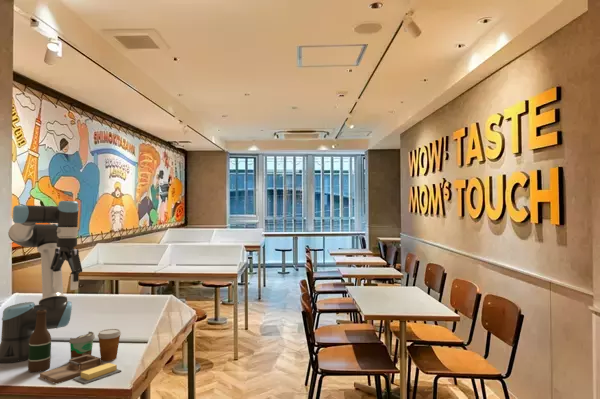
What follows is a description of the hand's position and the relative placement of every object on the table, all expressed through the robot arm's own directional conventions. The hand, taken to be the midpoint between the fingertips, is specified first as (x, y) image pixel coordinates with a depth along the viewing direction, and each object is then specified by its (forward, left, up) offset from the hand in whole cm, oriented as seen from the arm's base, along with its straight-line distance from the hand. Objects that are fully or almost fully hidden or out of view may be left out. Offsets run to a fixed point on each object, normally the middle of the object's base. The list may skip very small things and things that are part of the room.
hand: (65, 288), depth 168 cm
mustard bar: (+20, +4, -32) cm, 38 cm away
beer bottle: (-6, -6, -33) cm, 34 cm away
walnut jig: (+9, 0, -33) cm, 34 cm away
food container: (-4, +12, -33) cm, 35 cm away
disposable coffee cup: (+6, +17, -33) cm, 38 cm away
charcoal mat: (+21, +3, -33) cm, 39 cm away
